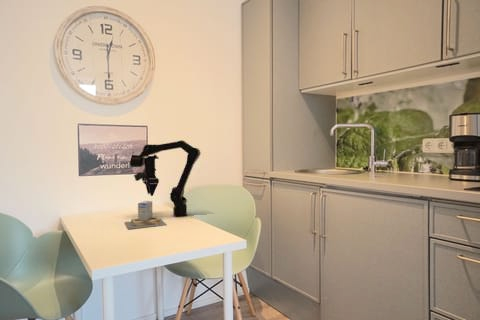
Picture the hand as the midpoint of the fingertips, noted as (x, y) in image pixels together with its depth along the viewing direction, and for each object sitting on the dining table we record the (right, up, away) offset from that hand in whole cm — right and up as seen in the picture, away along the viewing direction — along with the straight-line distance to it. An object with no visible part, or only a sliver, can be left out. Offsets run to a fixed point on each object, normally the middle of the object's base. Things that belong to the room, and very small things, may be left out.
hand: (150, 194), depth 183 cm
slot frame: (+3, -13, -20) cm, 24 cm away
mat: (+3, -13, -20) cm, 24 cm away
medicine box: (+3, -10, -20) cm, 23 cm away
